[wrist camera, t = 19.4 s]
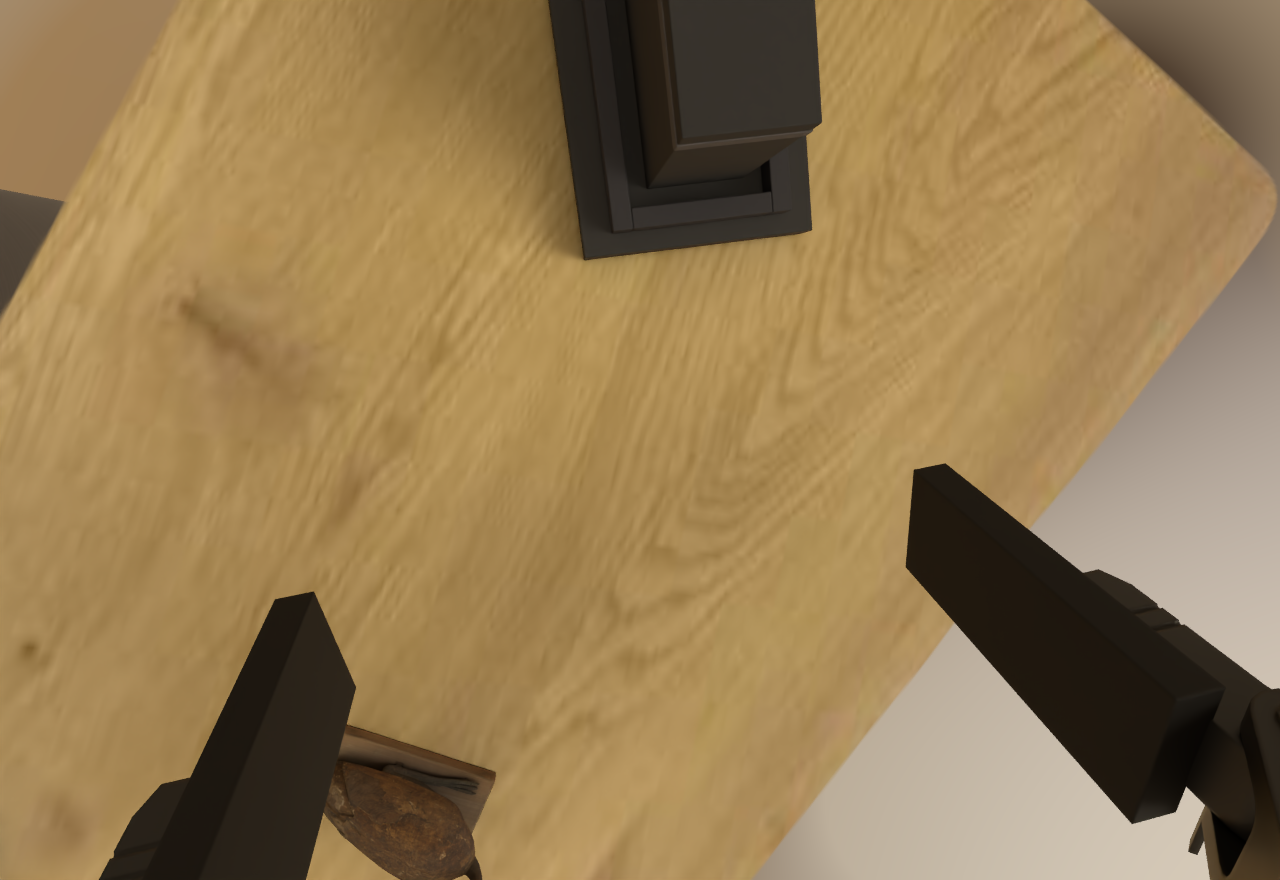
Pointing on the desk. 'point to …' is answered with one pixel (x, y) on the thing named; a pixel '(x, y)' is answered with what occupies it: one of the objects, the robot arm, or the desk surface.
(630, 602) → the desk surface
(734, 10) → the black block
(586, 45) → the base pad
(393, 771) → the figurine
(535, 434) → the desk surface
